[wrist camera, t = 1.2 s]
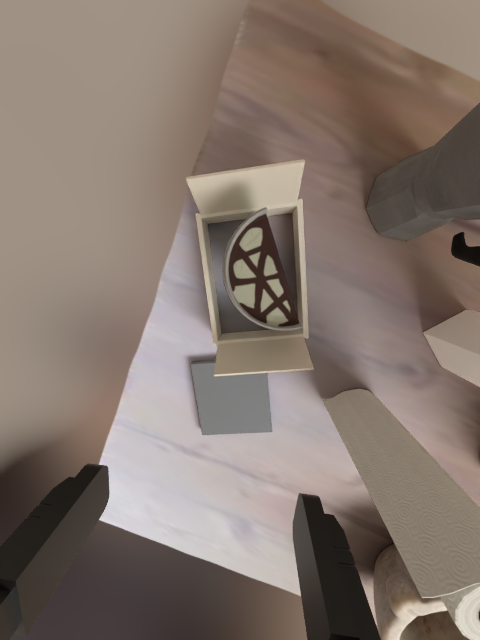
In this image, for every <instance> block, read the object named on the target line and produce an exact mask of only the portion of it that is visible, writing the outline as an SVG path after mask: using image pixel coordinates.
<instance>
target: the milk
mask: <svg viewBox="0 0 480 640" xmlns="http://www.w3.org/2000/svg"><path fill="white" fill-rule="evenodd" d="M423 334H424V336H425V337H426V339H427V341H428V343H429V345H430V347H431V349H432V351H433V352H434V354H435V356H436V358H437V360H438V362H439V364H440V366H441V367H443V368H445V369H446V370H448V371H450V372H452V373H454V374H456V375H458V376H460V377H461V378H463V379H465V380H467V381H469V382H471V383H473V384H475V385H477V386H478V387H480V312H477V311H472V310H464V311H462V312H461V313H459V314H457V315H455V316H453V317H451V318H449V319H447V320H445V321H444V322H442V323H440V324H438V325H436V326H434V327H432V328H430V329H428V330H427V331H425V332H423Z"/></svg>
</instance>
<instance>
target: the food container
mask: <svg viewBox="0 0 480 640" xmlns="http://www.w3.org/2000/svg"><path fill="white" fill-rule="evenodd" d="M222 272H223V281H224V285H225V288H226V291H227V294H228V296H229V298H230V300H231V301H232V303H233V304H234V306H235V307H236V308H237V309H238V311H239V312H240V313H241V314H242V315H244V316H245V317H246V318H247V319H249V320H250V321H252V322H254V323H255V324H257V325H260V326H262V327H265V328H269V329H273V330H282V331H285V330H295V329H300V328H302V327H303V326H302V325H301V323H300V322H299V320H298V317H297V314H296V312H295V309H294V305H293V302H292V298H291V295H290V292H289V288H288V285H287V281H286V278H285V274H284V271H283V268H282V264H281V261H280V258H279V255H278V251H277V248H276V245H275V241H274V238H273V235H272V231H271V228H270V225H269V221H268V218H267V208H266V207H265V208H263V209H260V210H258V211H257V212H255V213H254V214H252V215H251V216H249V217H248V218H247V219H245V220H244V221H243V222H242V223H241V224H240V225H239V227H238V228H237V229H236V230H235V232H234V233H233V235H232V237H231V238H230V240H229V242H228V245H227V247H226V250H225V254H224V259H223V271H222Z"/></svg>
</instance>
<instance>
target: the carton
mask: <svg viewBox="0 0 480 640" xmlns="http://www.w3.org/2000/svg"><path fill="white" fill-rule="evenodd" d="M304 164H305V159H302V160H295V161H288V162H282V163H275V164H269V165H262V166H255V167H249V168H242V169H236V170H229V171H222V172H216V173H209V174H202V175H196V176H189V177H186V181H187V183H188V186H189V188H190V191H191V193H192V195H193V198H194V200H195V202H196V205H197V207H198V210H199V212H200V213H195V214H196V221H197V228H198V236H199V243H200V250H201V257H202V264H203V271H204V279H205V286H206V293H207V300H208V307H209V315H210V322H211V329H212V336H213V343H214V346H218V348H217V355H216V363H215V370H214V376H228V375H243V374H257V373H272V372H287V371H301V370H313V365H312V362H311V358H310V355H309V352H308V349H307V345H306V342H305V338H309V333H308V310H307V288H306V265H305V243H304V220H303V199H298V195H299V190H300V185H301V180H302V175H303V169H304ZM265 207H266V208H267V216H272V215H280V214H288V213H293V232H294V250H295V269H296V288H297V306H298V320H299V322H300V323H301V325H302V326H303V327H302V328H300V329H295V330H285V331H282V330H273V329H270V330H258V331H246V332H234V333H223V334H222V332H221V324H220V317H219V309H218V301H217V293H216V286H215V278H214V270H213V263H212V255H211V247H210V239H209V232H208V224H211V223H219V222H226V221H234V220H242V219H247V218H248V217H249V216H251V215H252V214H254V213H255V212H257V211H258V210H260V209H263V208H265Z"/></svg>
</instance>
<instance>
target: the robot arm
mask: <svg viewBox="0 0 480 640" xmlns="http://www.w3.org/2000/svg"><path fill="white" fill-rule="evenodd" d="M108 499H109V475H108V467H107V466H104V465H97V464H87V465H86V466H84V467H83V469H82V470H81V471H80V472H79V473H78V474H77V476H76V477H75V478H73V477H68V478H67V479H66V480H64V481H63V482H61V483H60V484H59V485H58V486H56V487H54V488H53V489H52V490H51V491H50V492H49V494H48V495H47V496H46V497H45V498H44V499H43V500H42V501H41V502H40V505H39V506H37V507H36V508H35V509H34V510H33V511H32V512H31V513H30V515H29V516H28V518H27V519H25V520H24V521H23V522H22V524H20V526H19V527H18V528H17V529H16V530H15V531H14V532H13V533H12V535H10V537H9V538H8V539H7V540H6V541H5V542H4V543H3V545H1V546H0V640H9V639H10V638H11V637H12V635H15V636H21V637H27V635H28V633H29V632H30V630H31V629H32V627H33V625H34V624H35V622H36V621H37V619H38V617H39V616H40V614H41V613H42V611H43V609H44V608H45V606H46V604H47V603H48V601H49V600H50V598H51V596H52V595H53V593H54V591H55V590H56V588H57V586H58V585H59V583H60V582H61V580H62V578H63V577H64V575H65V574H66V572H67V570H68V569H69V567H70V565H71V564H72V562H73V561H74V559H75V557H76V556H77V554H78V552H79V551H80V549H81V547H82V546H83V544H84V543H85V541H86V539H87V538H88V536H89V534H90V533H91V531H92V530H93V528H94V526H95V525H96V523H97V521H98V520H99V518H100V517H101V515H102V513H103V512H104V510H105V507H106V505H107V502H108ZM293 542H294V549H295V556H296V563H297V570H298V577H299V584H300V591H301V598H302V605H303V612H304V619H305V625H306V632H307V639H308V640H381V638H380V635H379V633H378V630H377V627H376V624H375V621H374V618H373V615H372V612H371V609H370V606H369V603H368V600H367V597H366V594H365V591H364V588H363V586H362V583H361V580H360V577H359V574H358V571H357V569H356V567H355V562H354V559H353V556H352V553H351V552H350V547H349V544H348V542H347V539H346V536H345V533H344V530H343V529H342V527H341V526H340V524H339V523H338V521H337V520H336V518H335V517H334V515H330V514H324V511H323V507H322V504H321V500H320V498H319V496H316V495H308V494H301V493H299V495H298V500H297V505H296V510H295V515H294V520H293Z"/></svg>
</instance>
